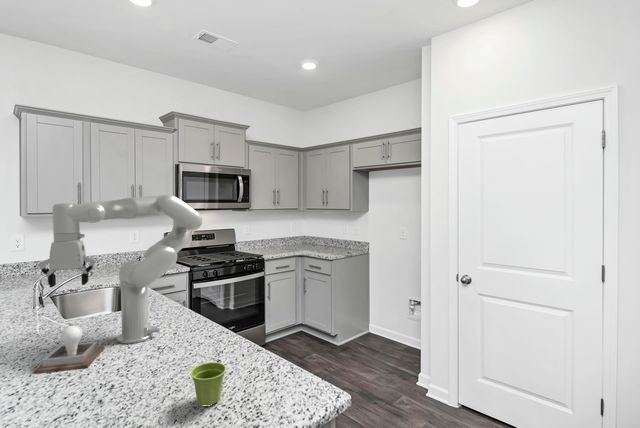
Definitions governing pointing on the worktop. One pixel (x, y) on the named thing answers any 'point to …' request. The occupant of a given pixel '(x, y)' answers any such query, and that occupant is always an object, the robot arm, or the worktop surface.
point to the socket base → (70, 367)
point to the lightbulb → (71, 339)
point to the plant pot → (208, 382)
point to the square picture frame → (70, 360)
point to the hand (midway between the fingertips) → (68, 285)
